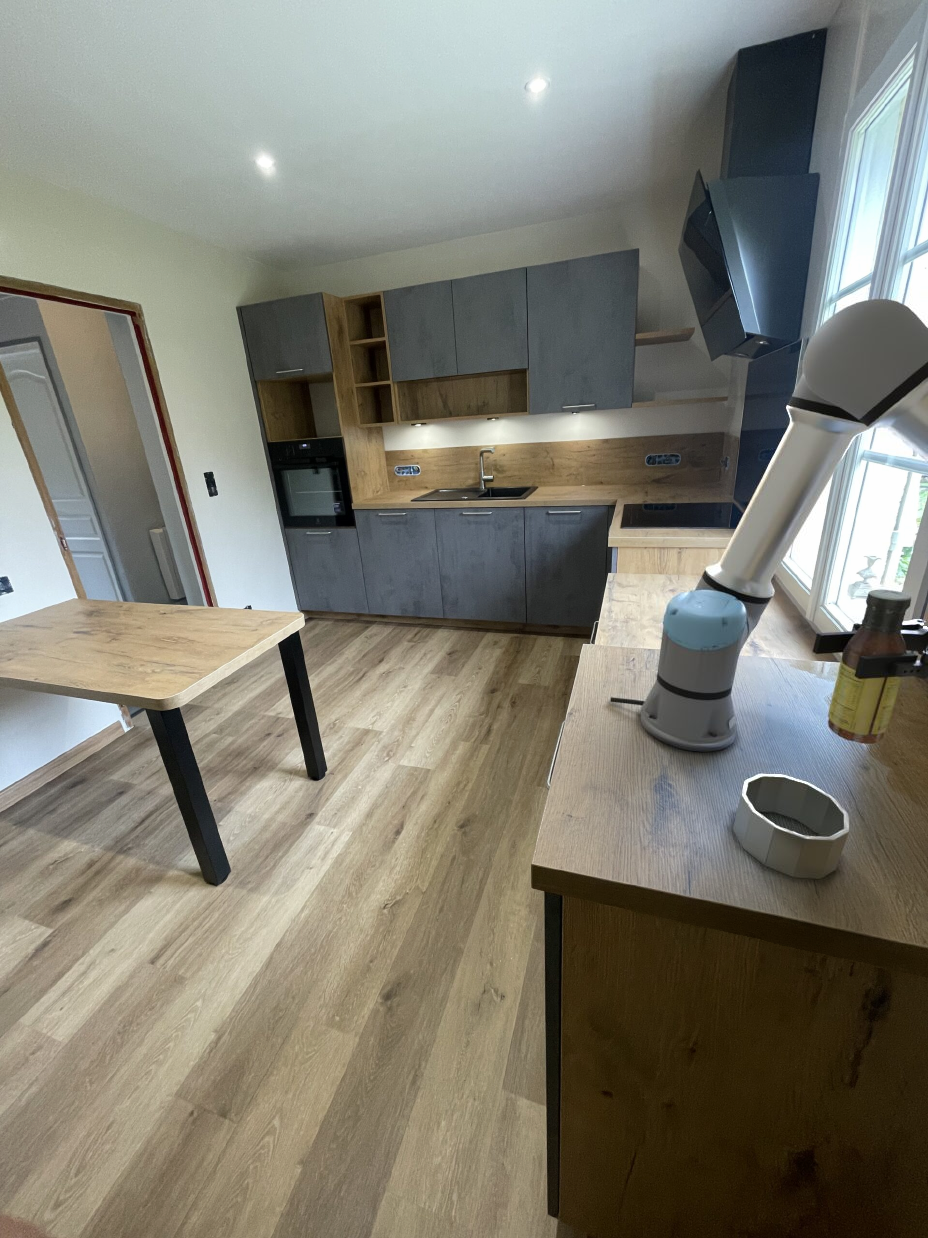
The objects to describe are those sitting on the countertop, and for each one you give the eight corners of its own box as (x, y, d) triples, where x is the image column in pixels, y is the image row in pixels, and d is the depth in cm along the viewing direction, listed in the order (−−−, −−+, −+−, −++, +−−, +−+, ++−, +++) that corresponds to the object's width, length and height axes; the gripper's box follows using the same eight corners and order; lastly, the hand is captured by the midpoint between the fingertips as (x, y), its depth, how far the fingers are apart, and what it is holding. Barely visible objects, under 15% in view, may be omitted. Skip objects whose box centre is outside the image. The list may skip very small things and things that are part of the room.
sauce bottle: (867, 721, 68) (910, 586, 60) (893, 749, 62) (944, 603, 55) (814, 717, 69) (850, 584, 62) (834, 743, 63) (876, 601, 56)
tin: (727, 850, 61) (736, 813, 58) (740, 798, 69) (748, 763, 67) (836, 895, 55) (850, 855, 52) (836, 831, 63) (848, 795, 61)
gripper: (1093, 710, 54) (896, 723, 53) (930, 640, 72) (780, 649, 71) (1124, 649, 52) (917, 662, 51) (946, 593, 69) (790, 601, 68)
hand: (837, 655), depth 61 cm, fingers closed on sauce bottle, 6 cm apart
